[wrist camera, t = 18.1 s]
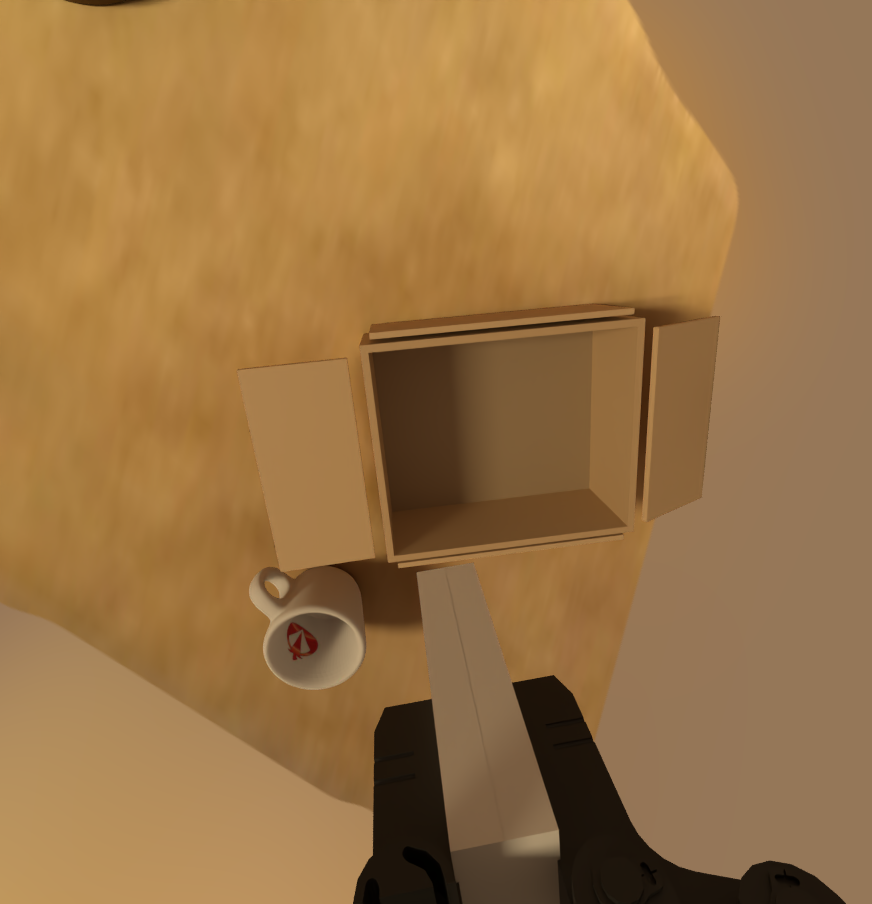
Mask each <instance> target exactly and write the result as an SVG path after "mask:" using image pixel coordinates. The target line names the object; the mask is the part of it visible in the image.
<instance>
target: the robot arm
mask: <svg viewBox="0 0 872 904" xmlns="http://www.w3.org/2000/svg"><path fill="white" fill-rule="evenodd" d="M66 1H70V2H75V3H81V4H90V5H104V4H113V3H119V2H123V1H126V0H66ZM416 573H417V581H418V589H419V597H420V606H421V614H422V622H423V630H424V639H425V647H426V655H427V663H428V672H429V680H430V688H431V696H432V699H430V700H424V701H419V702H413V703H408V704H403V705H397V706H392V707H386V708H384V711H383V713H382V715H381V718H380V720H379V722H378V725H377V727H376V729H375V732H374V761H375V764H374V811H373V814H374V816H373V856H372V857H371V858H370V859H369V860H368V862H367V864H366V865H365V867H364V869H363V871H362V873H361V875H360V876H359V878H358V881H357V886H356V891H355V896H354V902H353V904H846V903H845V902H844V901H843V900H842V899H841V898H840V897H839V896H838V895H837V894H836V893H834V892H833V891H832V890H831V889H830V888H829V887H827V886H826V885H825V884H824V883H823V882H821V881H820V880H819V879H818V878H817V877H815V876H813V875H812V874H810V873H807V872H805V871H803V870H802V869H799V868H798V867H796V866H794V865H791V864H786V863H781V862H775V861H766V862H763V863H759V864H755V865H752V866H751V867H750V868H749V870H748V871H747V872H746V873H745V874H744V875H743V877H742V878H741V880H739V879H733V878H728V877H722V876H717V875H711V874H706V873H700V872H695V871H691V870H688V869H685V868H681V867H678V866H677V865H675V864H673V863H671V862H669V861H667V860H665V859H663V858H662V857H661V856H660V855H659V854H657V853H656V852H655V851H653V850H652V849H651V848H650V847H649V846H648V845H647V844H646V843H645V842H644V840H643V839H642V838H641V837H640V836H639V835H638V833H637V832H636V830H635V828H634V826H633V825H632V823H631V821H630V819H629V817H628V815H627V813H626V810H625V808H624V806H623V804H622V801H621V799H620V797H619V795H618V793H617V790H616V788H615V786H614V784H613V782H612V779H611V777H610V775H609V773H608V771H607V768H606V766H605V764H604V762H603V760H602V757H601V755H600V753H599V751H598V749H597V746H596V744H595V742H593V739H592V735H591V733H590V731H589V729H588V727H587V724H586V722H584V719H583V716H582V713H581V711H580V709H579V707H578V705H577V702H576V700H575V698H574V696H573V694H572V693H571V692H570V691H569V690H568V689H567V688H566V687H565V686H564V685H563V684H562V683H561V682H560V681H559V680H558V679H557V678H556V677H555V676H554V675H552V676H547V677H541V678H536V679H530V680H525V681H519V682H514V683H512V682H511V679H510V676H509V673H508V669H507V666H506V663H505V660H504V657H503V654H502V651H501V647H500V644H499V641H498V638H497V635H496V632H495V629H494V626H493V622H492V619H491V616H490V613H489V610H488V607H487V604H486V601H485V597H484V594H483V591H482V588H481V585H480V582H479V579H478V575H477V572H476V569H475V566H474V563H469V564H463V565H457V566H451V567H445V568H439V569H433V570H427V571H421V572H416Z"/></svg>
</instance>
